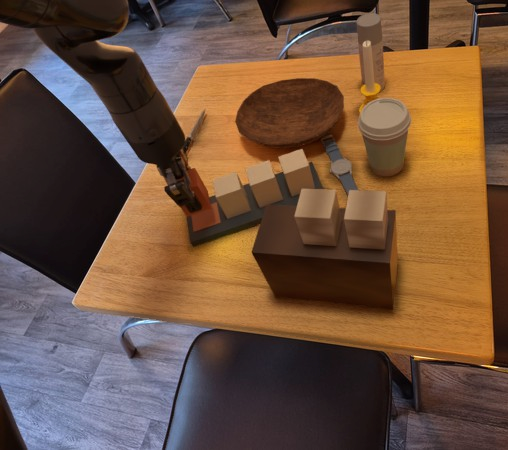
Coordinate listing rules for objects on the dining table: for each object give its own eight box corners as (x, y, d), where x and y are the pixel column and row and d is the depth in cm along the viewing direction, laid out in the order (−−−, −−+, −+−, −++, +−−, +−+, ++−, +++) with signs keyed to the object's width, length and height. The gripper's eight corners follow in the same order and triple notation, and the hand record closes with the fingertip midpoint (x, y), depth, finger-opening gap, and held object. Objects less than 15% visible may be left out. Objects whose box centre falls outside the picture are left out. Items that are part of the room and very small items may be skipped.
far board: (327, 200, 77) (320, 172, 71) (193, 247, 77) (175, 222, 71) (313, 167, 83) (305, 137, 77) (187, 210, 83) (170, 184, 77)
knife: (206, 113, 99) (203, 106, 98) (209, 113, 99) (206, 106, 97) (182, 160, 91) (178, 154, 90) (185, 160, 91) (181, 154, 89)
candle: (379, 121, 86) (374, 51, 74) (355, 116, 89) (346, 47, 76) (389, 104, 89) (386, 33, 76) (365, 100, 91) (359, 30, 79)
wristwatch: (335, 133, 87) (334, 129, 86) (371, 206, 74) (371, 202, 74) (315, 140, 87) (314, 136, 86) (348, 214, 74) (347, 210, 74)
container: (383, 94, 91) (379, 26, 79) (360, 94, 92) (353, 27, 81) (386, 79, 94) (383, 12, 82) (364, 80, 95) (358, 13, 83)
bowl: (255, 98, 99) (249, 80, 95) (352, 94, 93) (350, 74, 89) (231, 162, 88) (223, 144, 84) (340, 162, 82) (336, 143, 78)
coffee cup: (417, 174, 77) (419, 121, 67) (370, 187, 77) (364, 137, 68) (402, 142, 82) (401, 89, 72) (357, 155, 82) (350, 103, 73)
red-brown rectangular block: (207, 190, 77) (194, 167, 72) (211, 208, 74) (197, 185, 70) (184, 198, 77) (169, 176, 72) (186, 217, 74) (171, 194, 70)
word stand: (397, 261, 67) (394, 179, 52) (393, 309, 63) (388, 234, 48) (286, 253, 72) (254, 176, 57) (275, 297, 68) (237, 225, 53)
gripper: (121, 102, 66) (170, 178, 79) (122, 165, 57) (177, 238, 70) (168, 85, 66) (209, 164, 79) (177, 146, 57) (222, 223, 70)
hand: (194, 199), depth 75 cm, fingers closed on red-brown rectangular block, 4 cm apart
